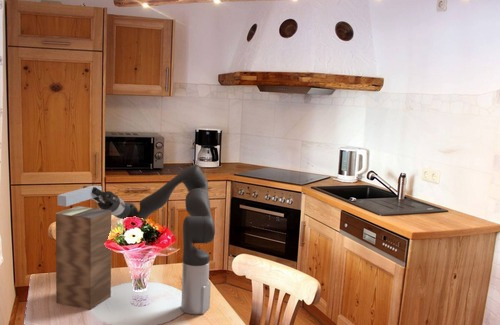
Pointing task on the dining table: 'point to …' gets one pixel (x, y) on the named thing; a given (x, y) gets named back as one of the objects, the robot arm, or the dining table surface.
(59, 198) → the lever
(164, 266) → the dining table surface
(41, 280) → the dining table surface
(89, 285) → the wooden block
